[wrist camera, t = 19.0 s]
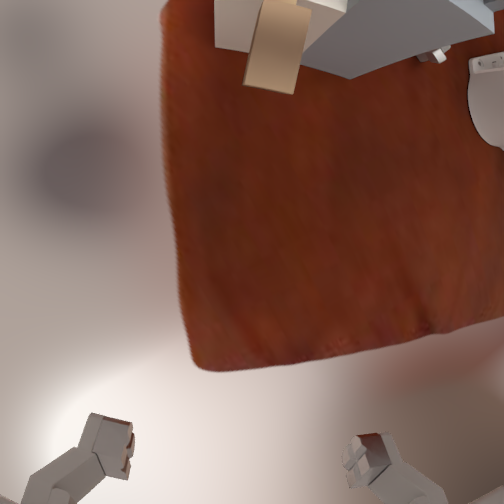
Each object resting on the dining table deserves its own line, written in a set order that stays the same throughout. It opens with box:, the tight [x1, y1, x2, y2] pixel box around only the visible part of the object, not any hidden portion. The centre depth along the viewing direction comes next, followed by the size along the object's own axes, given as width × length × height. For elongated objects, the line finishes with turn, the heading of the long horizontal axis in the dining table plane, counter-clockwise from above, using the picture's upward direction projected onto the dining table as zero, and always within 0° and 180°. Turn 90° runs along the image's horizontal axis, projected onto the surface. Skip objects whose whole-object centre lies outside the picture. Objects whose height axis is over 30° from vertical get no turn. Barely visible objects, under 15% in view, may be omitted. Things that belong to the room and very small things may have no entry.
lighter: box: [416, 45, 451, 63], centre depth 31 cm, size 7×2×8 cm, turn 131°
